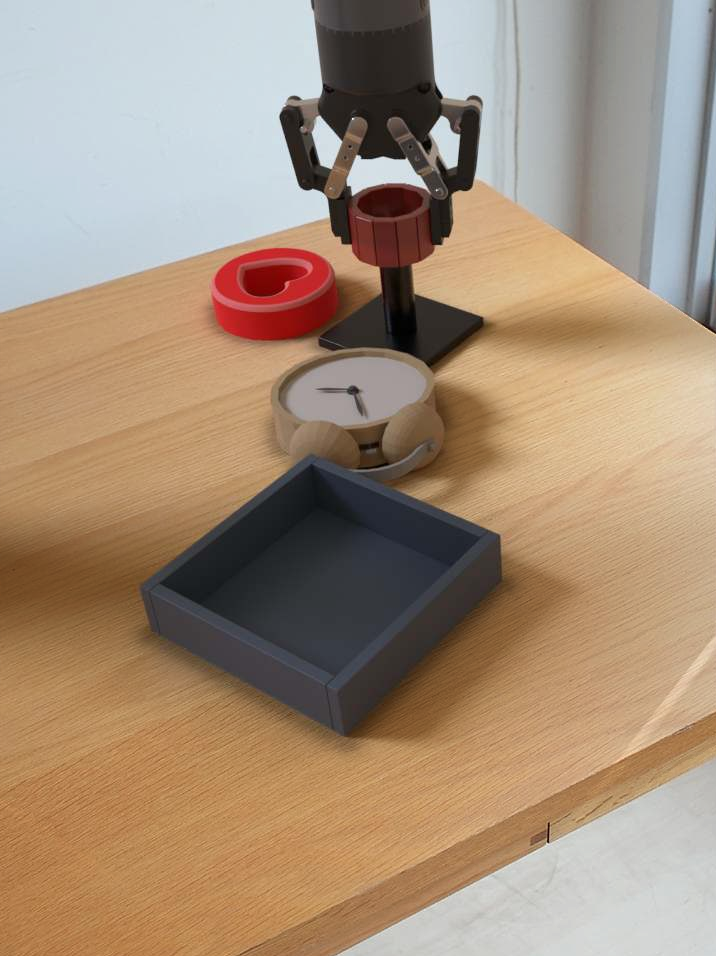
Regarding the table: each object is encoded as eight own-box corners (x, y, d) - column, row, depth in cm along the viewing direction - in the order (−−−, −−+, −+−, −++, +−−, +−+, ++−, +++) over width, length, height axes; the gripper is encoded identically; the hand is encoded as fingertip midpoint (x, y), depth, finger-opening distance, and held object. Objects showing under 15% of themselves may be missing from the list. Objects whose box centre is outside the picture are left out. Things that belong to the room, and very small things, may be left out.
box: (152, 637, 77) (138, 585, 74) (318, 503, 86) (310, 452, 83) (346, 744, 70) (337, 691, 67) (503, 586, 79) (500, 534, 76)
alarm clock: (415, 335, 96) (462, 418, 83) (422, 397, 98) (469, 487, 85) (260, 361, 94) (284, 450, 81) (271, 424, 96) (296, 520, 83)
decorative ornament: (240, 276, 109) (233, 242, 107) (352, 284, 108) (348, 249, 106) (198, 338, 102) (191, 302, 100) (318, 347, 100) (313, 311, 98)
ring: (336, 254, 96) (330, 208, 93) (387, 220, 99) (383, 176, 97) (401, 275, 93) (397, 229, 91) (452, 240, 97) (449, 195, 94)
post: (319, 348, 100) (306, 254, 95) (392, 296, 106) (384, 205, 101) (412, 383, 96) (404, 287, 91) (484, 328, 102) (480, 234, 97)
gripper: (488, -14, 87) (496, 217, 98) (274, -13, 89) (306, 215, 99) (477, 26, 82) (487, 267, 92) (249, 27, 83) (285, 264, 93)
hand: (393, 239), depth 96 cm, fingers closed on ring, 6 cm apart
